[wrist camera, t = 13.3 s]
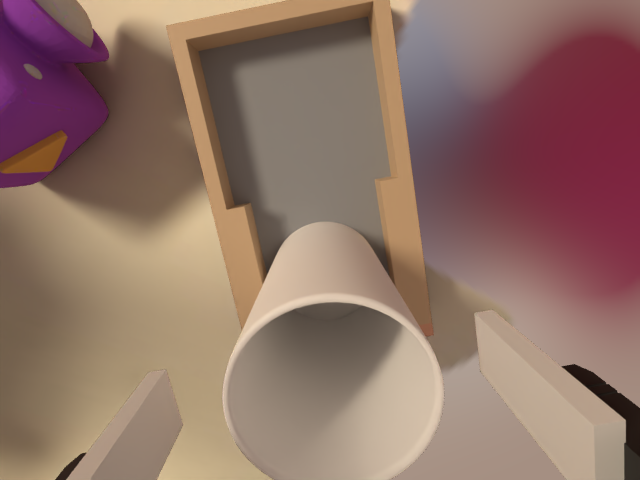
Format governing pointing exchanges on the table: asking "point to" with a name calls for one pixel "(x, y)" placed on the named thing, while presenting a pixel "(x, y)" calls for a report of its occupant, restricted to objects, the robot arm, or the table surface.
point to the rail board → (302, 135)
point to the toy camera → (45, 86)
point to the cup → (331, 366)
